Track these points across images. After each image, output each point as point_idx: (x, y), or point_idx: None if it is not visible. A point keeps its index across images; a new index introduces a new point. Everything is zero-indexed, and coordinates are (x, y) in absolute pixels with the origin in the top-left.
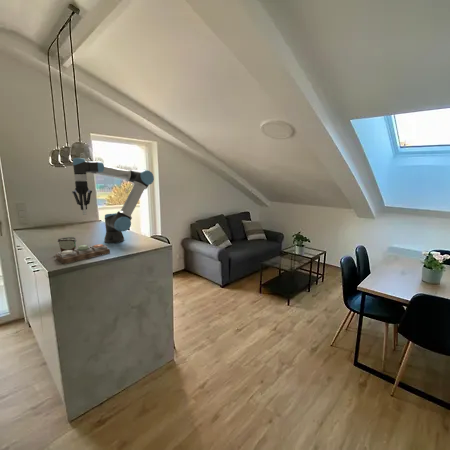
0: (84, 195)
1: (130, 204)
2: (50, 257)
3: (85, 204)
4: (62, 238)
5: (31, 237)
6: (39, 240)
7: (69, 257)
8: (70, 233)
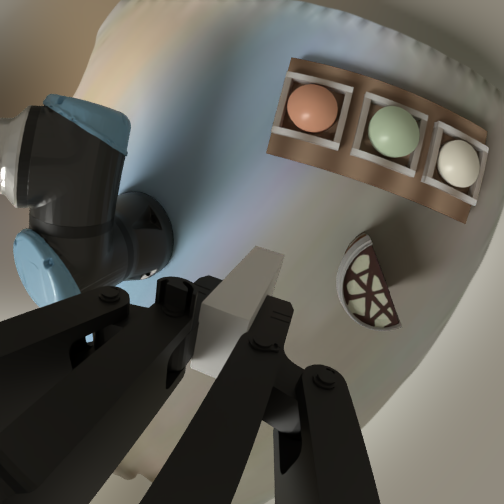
0: (21, 492)
1: None
2: (447, 266)
3: (194, 306)
4: (375, 328)
5: (260, 489)
6: None
7: (468, 123)
8: (174, 445)
